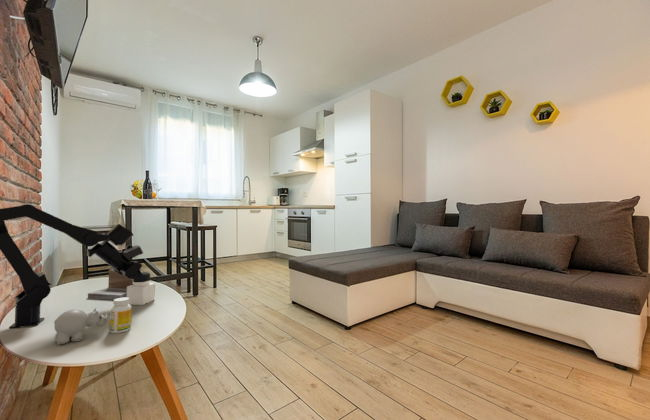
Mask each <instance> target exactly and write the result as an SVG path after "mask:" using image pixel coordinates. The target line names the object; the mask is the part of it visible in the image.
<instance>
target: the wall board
mask: <svg viewBox="0 0 650 420" xmlns="http://www.w3.org/2000/svg"><path fill="white" fill-rule="evenodd" d="M140 271H141V272H143V271H142V270H140ZM118 272H119V271H118ZM118 272H115V271H113V270H112V269H111V268H110V269H108V286H107V287H106V288H102V289H99V290H95V291H91V292H88V293H87V299H93V300H111V301H112V300H113V301H114V300H115V299H117V298H123V297H127V286H130V285H133V279H130V278H127V277H126V276H124V275H121V274H119V273H118Z"/></svg>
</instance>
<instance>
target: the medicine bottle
mask: <svg viewBox="0 0 650 420" xmlns="http://www.w3.org/2000/svg"><path fill="white" fill-rule="evenodd" d="M141 273H142V274H143V275H144V277H145V278H146V281H145V282H142V281H139V280H135V279H133V285H130V286H127V298H129V303H128V304H130V305H131V306H133V305H134V306H135V305H136V306H144V305H147V304H149V303H151V302H153V300H154V301H155V299H156V298H155V296H156V283H154V282H151V273H150V272H148V271H142V272H141ZM146 303H147V304H146Z"/></svg>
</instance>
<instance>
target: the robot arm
mask: <svg viewBox="0 0 650 420" xmlns="http://www.w3.org/2000/svg"><path fill="white" fill-rule="evenodd" d="M25 217H26V218H28V219H31V220H33V221H35V222H37V223H40V224H42V225H44V226H47V227H49V228H51V229H54V230H55V231H56V230H57V231H58V232H60V233H62V234H64V235H67V236H68V237H69V238H71V239H73V240H74V241H76V243H78V244H81V245H82V246H86V247H91V248H86V256H87V257H88V258H91V257H92V256H94V255H95V256H97V257H99V259H101V260H102V261H103V262H104V263H105V264H107V265H109V266H110V270H111V269H112V270H113V271H115V272H118V271H119V272H118V273H119V274H121V275H124V276H126V277H127V278H130V279H135V280H139V281H142V282H145V281H146V278H145V277H144V275H143V274H142V273H141V271H142V270H141V268H142V267H143V264H142V263H141V262H139V261H137V260H134V258H135V257H138V256H140V255H143V254H144V252H143V249H142V248H141V246H140V245H132V244H128V245H127V246H125V249H124V251H121V250H119V249H117V248H116V247H118V246H123V245H124V244H126V243H127V241H129V240H130V239H131V238H132V237H134V234H133V232H132V231H131V230H130V229H128V228H126V227H125V226H123V225H122V224H120V223H117V224H116V225H115V226H114V227H113V228H111V230H110V231H108V232H107V233H104V232H102V233H101V232H100V233H99V232H98V231H95V230H92V229H89V228H86V227H82V226H78V225H75V224H72V223H70V222H68V221H66V220H63V219H61V218H59V217H57V216H54V215H52V214H50V213H48V212H46V211H44V210H42V209H39V208H37V207H36V206H34V205H33V204H31V203H30V204H28V203H26V204H21V205H17V206H9V207H5V208H4V207H2V208H0V252H1V253H2V254H3V256H4V257H5V258H6V260H7V261H8V263H9V264H10V266H11V268H12V269H13V270H14V272H15V273H16V275H17V276H18V278H19V281H20V284H21V286H22V289H23V290H22V291H20V292H19V293H18V294H17V295H15V297H14V302H15V304H16V305H15V306H14V307H15V308H14V323H12V324H11V325H9V327H8V329H16V328H25V327H33V326H38V325H39V324H40V323H42V322H43V321H44V320H45V317H41V304H42V302H43V300H44V299H45V298H47V297H48V296H49V295H50V294H51V289H52V288H51V287H50V286H52V283H51V282H50V281H49V280H48V279H47V277H46V274H45V273H44V272H43V271H41V272H39V273H37V272H36V271H35V270H34V269H33V268H32V266H31V265H30V264H29V262H28V260H27V259H26V258H25V256H24V254H23V253H22V252H21V250H20V248H19V247H18V245H17V244H16V242H15V241H14V239H13V238H12V236H11V234H9V231H8V228H7V225H6V222H5V221H9V220H14V219H20V218H25Z"/></svg>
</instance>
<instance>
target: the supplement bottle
mask: <svg viewBox="0 0 650 420" xmlns="http://www.w3.org/2000/svg"><path fill="white" fill-rule="evenodd" d="M128 303H129V298H127V297H123V298H117V299H115V300H113V306H111V308H110V311H109V313H110V314H109V332H110V333H111V334H120V333H125V332H127V331H129V330H131V327H132V325H131V324H132V305H130V304H128Z"/></svg>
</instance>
